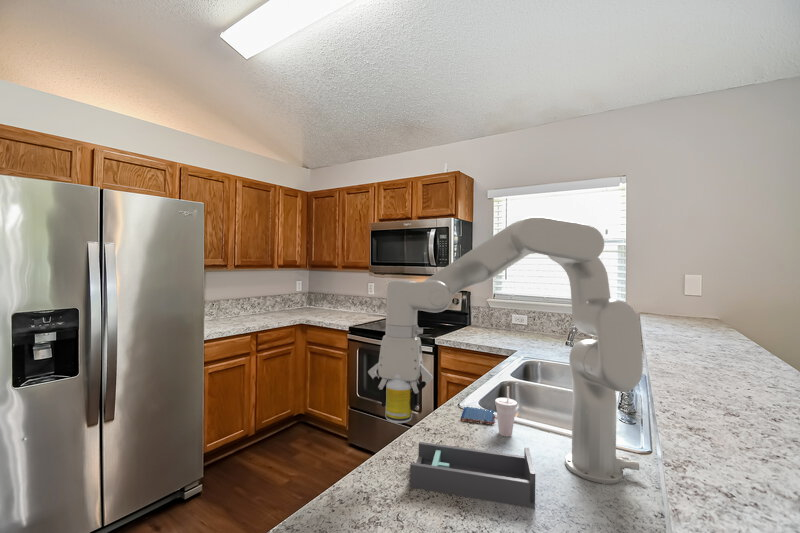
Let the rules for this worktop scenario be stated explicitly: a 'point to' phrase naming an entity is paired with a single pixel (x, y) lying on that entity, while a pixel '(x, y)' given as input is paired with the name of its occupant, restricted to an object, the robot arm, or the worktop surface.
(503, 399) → the smoothie
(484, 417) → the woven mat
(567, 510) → the worktop surface
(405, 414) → the pill bottle
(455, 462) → the tray
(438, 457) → the pusher paddle
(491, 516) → the worktop surface
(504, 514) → the worktop surface
